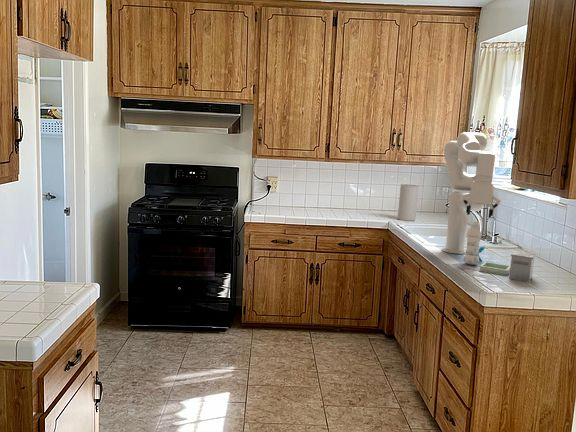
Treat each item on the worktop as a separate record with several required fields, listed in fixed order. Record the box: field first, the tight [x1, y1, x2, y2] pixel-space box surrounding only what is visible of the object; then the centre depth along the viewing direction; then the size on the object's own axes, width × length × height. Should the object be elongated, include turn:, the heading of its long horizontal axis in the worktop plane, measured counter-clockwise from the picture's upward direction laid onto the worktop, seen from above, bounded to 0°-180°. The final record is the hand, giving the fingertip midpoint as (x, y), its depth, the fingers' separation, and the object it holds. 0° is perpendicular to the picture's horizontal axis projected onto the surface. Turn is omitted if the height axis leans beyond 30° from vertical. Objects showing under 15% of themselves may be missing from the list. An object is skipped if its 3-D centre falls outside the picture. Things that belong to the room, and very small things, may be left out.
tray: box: [479, 261, 511, 276], centre depth 253 cm, size 12×12×2 cm
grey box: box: [508, 250, 537, 283], centre depth 242 cm, size 11×9×11 cm
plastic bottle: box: [463, 221, 482, 266], centre depth 262 cm, size 6×7×20 cm
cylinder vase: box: [397, 183, 420, 222], centre depth 399 cm, size 12×12×25 cm
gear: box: [478, 246, 486, 263], centre depth 272 cm, size 11×6×10 cm
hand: (479, 215), depth 260 cm, fingers open, 9 cm apart
